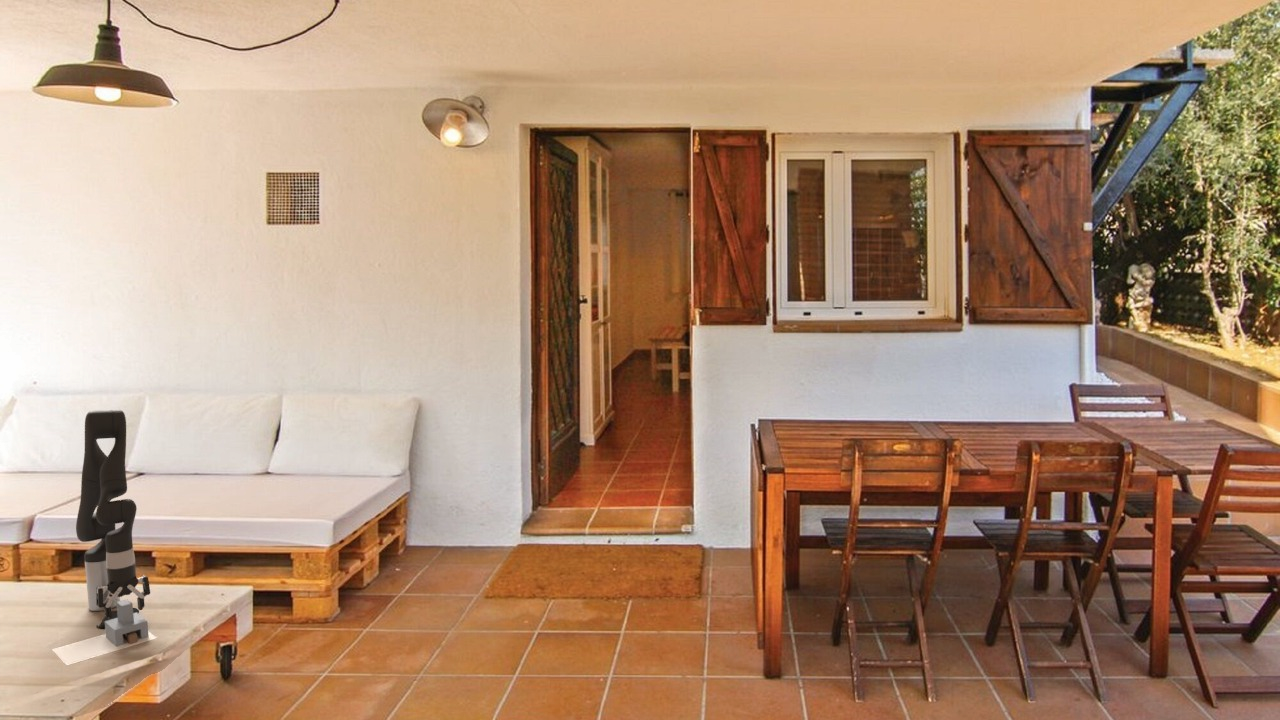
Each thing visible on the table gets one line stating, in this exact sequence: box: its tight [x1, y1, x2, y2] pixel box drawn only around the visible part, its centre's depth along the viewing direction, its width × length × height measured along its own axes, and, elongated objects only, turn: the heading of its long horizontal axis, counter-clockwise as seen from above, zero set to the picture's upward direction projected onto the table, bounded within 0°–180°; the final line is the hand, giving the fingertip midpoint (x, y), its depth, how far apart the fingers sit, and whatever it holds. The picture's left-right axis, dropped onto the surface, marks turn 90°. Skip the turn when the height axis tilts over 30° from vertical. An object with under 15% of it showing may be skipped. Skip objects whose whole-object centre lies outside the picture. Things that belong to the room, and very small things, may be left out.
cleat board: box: [51, 630, 157, 666], centre depth 257 cm, size 16×24×4 cm, turn 138°
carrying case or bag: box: [95, 607, 140, 630], centre depth 275 cm, size 11×3×15 cm
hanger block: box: [104, 598, 149, 647], centre depth 261 cm, size 10×9×11 cm
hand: (125, 613), depth 261 cm, fingers open, 8 cm apart
